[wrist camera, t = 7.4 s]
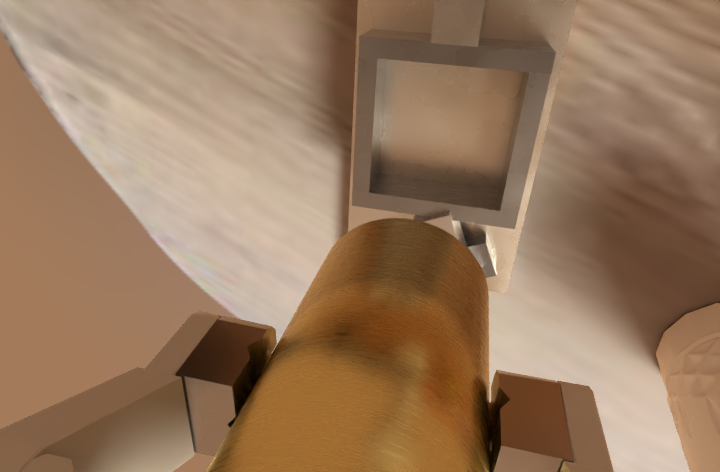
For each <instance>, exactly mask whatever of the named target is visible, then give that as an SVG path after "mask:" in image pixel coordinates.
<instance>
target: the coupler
mask: <svg viewBox="0 0 720 472" xmlns="http://www.w3.org/2000/svg"><path fill="white" fill-rule="evenodd" d="M206 472H490V420H489V295H488V285H487V281H486V277H485V275H484V272H483V270H482V267H481V266H480V264H479V262H478V260H477V259H476V257H475V256H474V255H473V254H472V252H471V251H470V250H469V249H468V248H467V247H466V246H465V245H464V244H463V243H462V242H461V241H460V240H458V239H457V238H456V237H454V236H453V235H451V234H450V233H448V232H446V231H445V230H443V229H441V228H439V227H436V226H434V225H431V224H429V223H425V222H422V221H418V220H412V219H406V218H387V219H380V220H375V221H371V222H368V223H365V224H362V225H360V226H358V227H356V228H354V229H352V230H350V231H349V232H348V233H346V234H345V235H343V236H342V237H341V238H340V239H339V240H338V241H337V242H336V243H335V245H334V246H333V247H332V248H331V250H330V252H329V254H328V255H327V257H326V259H325V261H324V262H323V264H322V266H321V268H320V270H319V271H318V273H317V275H316V277H315V278H314V280H313V282H312V284H311V286H310V287H309V289H308V291H307V293H306V295H305V296H304V298H303V300H302V302H301V303H300V305H299V307H298V309H297V311H296V312H295V314H294V316H293V318H292V320H291V321H290V323H289V325H288V327H287V328H286V330H285V332H284V334H283V336H282V337H281V339H280V341H279V343H278V345H277V346H276V348H275V350H274V352H273V353H272V355H271V357H270V359H269V361H268V362H267V364H266V366H265V368H264V369H263V371H262V373H261V375H260V377H259V378H258V380H257V382H256V384H255V386H254V387H253V389H252V391H251V393H250V394H249V396H248V398H247V400H246V402H245V403H244V405H243V407H242V409H241V411H240V412H239V414H238V416H237V418H236V419H235V421H234V423H233V425H232V427H231V428H230V430H229V432H228V434H227V436H226V437H225V439H224V441H223V443H222V444H221V446H220V448H219V450H218V452H217V453H216V455H215V457H214V459H213V461H212V463H211V464H210V466H209V468H208V470H207V471H206Z"/></svg>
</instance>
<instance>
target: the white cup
mask: <svg viewBox="0 0 720 472" xmlns="http://www.w3.org/2000/svg"><path fill="white" fill-rule="evenodd" d="M656 357H657V361H658V365H659V369H660V373H661V376H662V379H663V382H664V384H665V387H666V390H667V393H668V394H667V400H668V404H669V407H670V410H671V412H672V415H673V419H674V423H675V426H676V429H677V432H678V434H679V437H680V441H681V445H682V449H683V452H684V455H685V457H686V460H687V463H688V466H689V469H690V472H720V303H715V304H712V305H709V306H707V307H704V308H701V309H698V310H695V311H692V312H689V313H687V314H685V315H684V316H683V317H681V318H680V319H679V320H678V321H677V322H675V323H674V324H673V325H672V326H671V327H669V328H668V329H667V330H666V331H665V332H664V334H663V336H662V339H661V341H660V343H659V346H658V348H657V351H656Z"/></svg>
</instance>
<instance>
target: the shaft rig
mask: <svg viewBox="0 0 720 472" xmlns="http://www.w3.org/2000/svg"><path fill="white" fill-rule="evenodd" d="M576 3H577V0H358V8H357V31H356V55H355V78H354V101H353V125H352V148H351V172H350V195H349V219H348V232H349V231H350V230H352V229H354V228H356V227H358V226H360V225H362V224H365V223H368V222H371V221H375V220H380V219H387V218H406V219H412V220H418V221H422V222H425V223H429V224H431V225H434V226H436V227H439V228H441V229H443V230H445V231H446V232H448V233H450V234H451V235H453V236H454V237H456V238H457V239H458V240H460V241H461V242H462V243H463V244H464V245H465V246H466V247H467V248H468V249H469V250H470V251H471V252H472V254H473V255H474V256H475V257H476V259H477V260H478V262H479V264H480V266H481V267H482V270H483V272H484V275H485V277H486V281H487V285H488V291H493V292H499V293H505V294H506V293H507V289H508V285H509V280H510V276H511V272H512V268H513V264H514V260H515V256H516V252H517V247H518V243H519V239H520V235H521V231H522V227H523V223H524V218H525V214H526V210H527V206H528V202H529V198H530V194H531V189H532V185H533V181H534V177H535V173H536V169H537V165H538V160H539V156H540V152H541V148H542V144H543V140H544V136H545V132H546V127H547V123H548V119H549V115H550V111H551V107H552V103H553V98H554V94H555V90H556V86H557V82H558V78H559V74H560V69H561V65H562V61H563V57H564V53H565V49H566V45H567V41H568V36H569V32H570V28H571V24H572V20H573V16H574V12H575V7H576Z"/></svg>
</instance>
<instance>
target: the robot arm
mask: <svg viewBox="0 0 720 472" xmlns="http://www.w3.org/2000/svg"><path fill="white" fill-rule="evenodd" d="M276 344H277V343H276V331H275V329H274V328H273V327H272V326H267V325H263V324H258V323H254V322H249V321H245V320H240V319H235V318H231V317H226V316H219V315H214V314H210V313H206V312H201V311H198V312H196V313H194V314H192V315H191V316H190V318H188V319H187V321H186V322H185V323H184V324H183V325H182V327H181V328H180V329H179V330H178V331H177V333H175V335H174V336H173V337H172V338H171V339H170V341H169V342H168V343H167V344H166V345H165V346H164V347H163V349H162V350H161V351H160V352H159V353H158V354H157V355H156V357H155V358H154V359H153V360H152V361H151V362H150V364H149V365H148V366H147V367H146V368H145V369H142V368H135V369H133V370H131V371H128V372H126V373H124V374H122V375H120V376H117V377H115V378H113V379H111V380H108V381H106V382H104V383H102V384H100V385H98V386H95V387H93V388H91V389H88V390H86V391H84V392H82V393H80V394H77V395H75V396H73V397H71V398H69V399H67V400H64V401H62V402H60V403H58V404H55V405H53V406H51V407H49V408H46V409H44V410H42V411H40V412H38V413H35V414H33V415H31V416H29V417H27V418H24V419H22V420H20V421H18V422H15V423H13V424H11V425H9V426H7V427H5V428H2V429H0V472H173V471H174V470H176V469H177V468H178V467H179V466H181V465H182V464H183V463H185V462H186V461H187V460H189V459H190V458H192V457H193V456H194V455H195V454H194V452H196V453H201V454H205V455H210V456H215V455H216V453H217V452H218V450H219V448H220V446H221V444H222V443H223V441H224V439H225V437H226V436H227V434H228V432H229V430H230V428H231V427H232V425H233V423H234V421H235V419H236V418H237V416H238V414H239V412H240V411H241V409H242V407H243V405H244V403H245V402H246V400H247V398H248V396H249V394H250V393H251V391H252V389H253V387H254V386H255V384H256V382H257V380H258V378H259V377H260V375H261V373H262V371H263V369H264V368H265V366H266V364H267V362H268V361H269V359H270V357H271V355H272V354H271V353H272V351H273V349H274V347H275V345H276ZM489 420H490V472H614V471H613V467H612V463H611V460H610V456H609V452H608V448H607V444H606V440H605V436H604V433H603V429H602V425H601V421H600V417H599V413H598V410H597V406H596V402H595V398H594V394H593V391H592V390H591V389H590V387H589V386H584V385H578V384H573V383H567V382H561V381H557V382H556V381H553V380H548V379H543V378H537V377H532V376H527V375H521V374H516V373H510V372H505V371H500V370H497V371H496V373H495V375H494V379H493V382H492V386H491V402H490V403H489Z"/></svg>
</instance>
